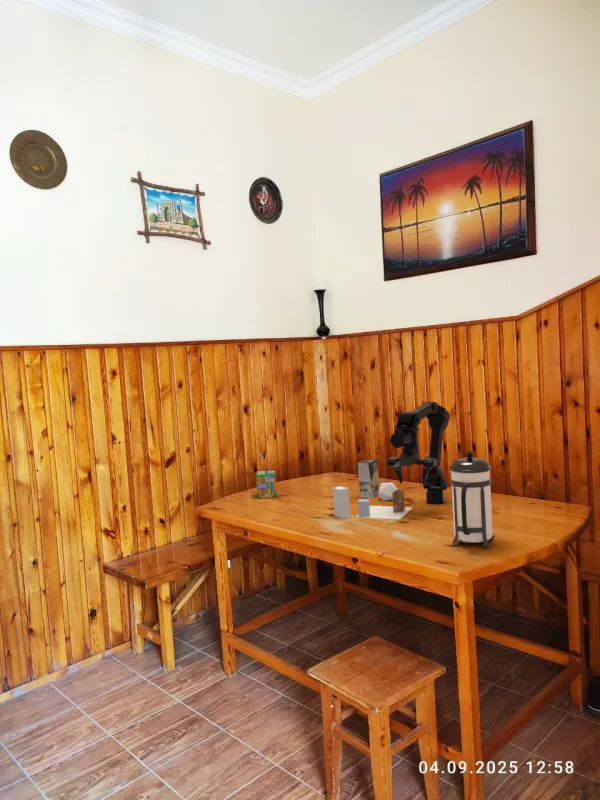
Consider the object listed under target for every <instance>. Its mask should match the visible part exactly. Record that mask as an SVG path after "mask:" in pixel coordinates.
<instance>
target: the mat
mask: <svg viewBox="0 0 600 800" xmlns="http://www.w3.org/2000/svg"><path fill="white" fill-rule="evenodd" d="M412 509H413V507H406V506H405V511H403V512H402V513H393V506H386V505H370V516H369V517H367V518H370V519H389V520H401V519H402V518H403V517H404V516H405V515H407V513H408V512H410V511H411V510H412ZM355 518H360V517H359V513H358V514H356V516H355Z"/></svg>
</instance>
